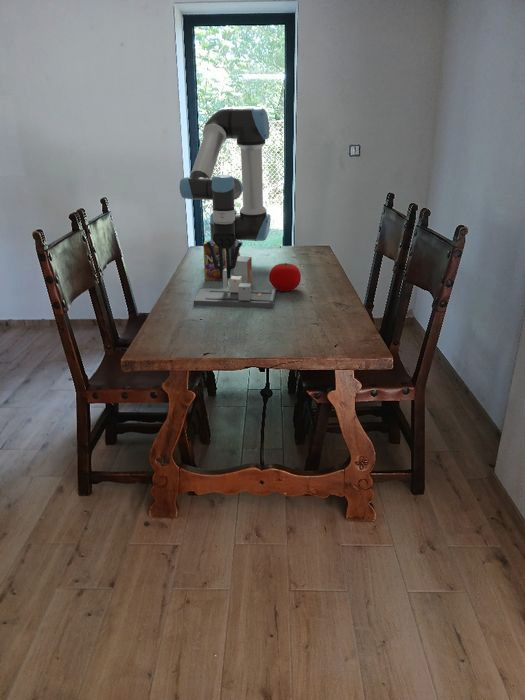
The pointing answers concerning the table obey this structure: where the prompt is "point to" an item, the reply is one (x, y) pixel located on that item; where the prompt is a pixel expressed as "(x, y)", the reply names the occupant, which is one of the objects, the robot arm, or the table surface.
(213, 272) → the candy box
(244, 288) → the fader
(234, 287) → the block
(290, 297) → the table surface
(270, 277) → the tomato
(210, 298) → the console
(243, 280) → the small box
